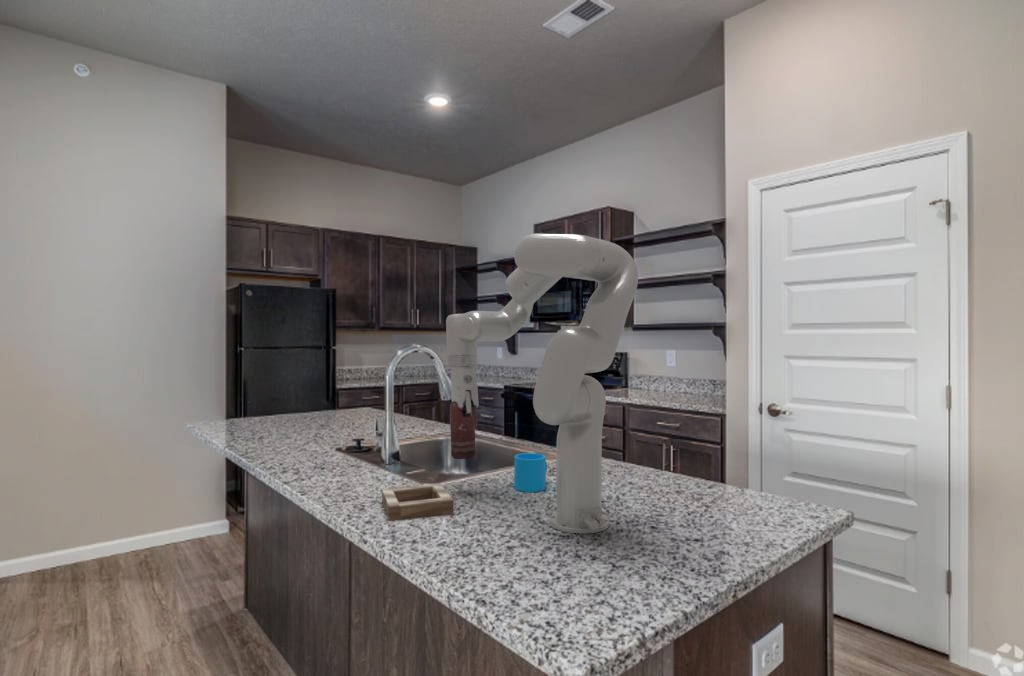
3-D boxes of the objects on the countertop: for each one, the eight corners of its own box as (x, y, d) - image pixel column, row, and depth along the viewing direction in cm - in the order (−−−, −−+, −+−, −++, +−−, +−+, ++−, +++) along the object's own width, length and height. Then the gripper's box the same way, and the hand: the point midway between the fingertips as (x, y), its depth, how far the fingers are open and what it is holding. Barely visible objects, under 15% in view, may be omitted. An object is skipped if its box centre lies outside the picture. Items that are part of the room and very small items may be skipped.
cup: (477, 454, 141) (475, 399, 142) (473, 459, 135) (471, 402, 135) (454, 454, 142) (452, 400, 142) (449, 459, 136) (447, 402, 136)
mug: (534, 493, 138) (534, 461, 138) (508, 488, 143) (508, 457, 143) (558, 483, 148) (558, 452, 148) (533, 478, 152) (533, 449, 152)
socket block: (453, 514, 122) (453, 499, 122) (389, 521, 117) (388, 506, 117) (440, 497, 135) (440, 483, 135) (382, 503, 130) (382, 489, 130)
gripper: (484, 362, 133) (487, 438, 132) (469, 362, 147) (471, 430, 146) (454, 363, 130) (456, 441, 130) (441, 363, 144) (443, 433, 144)
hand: (464, 435), depth 138 cm, fingers closed, pressing on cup
